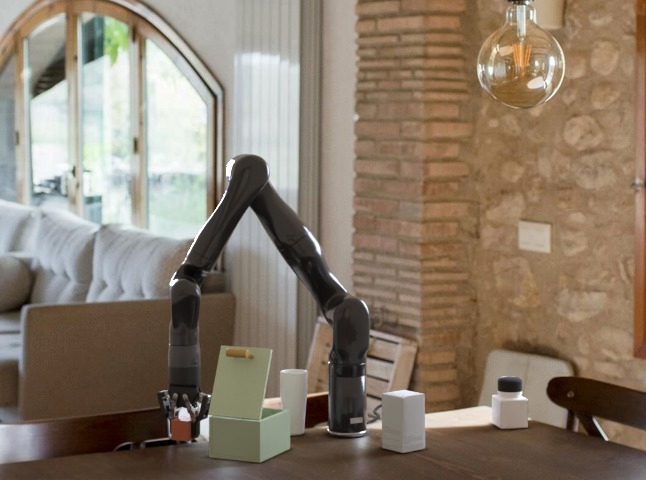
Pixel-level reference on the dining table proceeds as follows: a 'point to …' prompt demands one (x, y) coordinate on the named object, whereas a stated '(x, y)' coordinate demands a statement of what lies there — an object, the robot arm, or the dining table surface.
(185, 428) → the block
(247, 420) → the chest
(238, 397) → the lid
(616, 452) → the dining table surface
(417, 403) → the white packaging box
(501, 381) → the medicine bottle
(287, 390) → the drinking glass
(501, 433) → the dining table surface
